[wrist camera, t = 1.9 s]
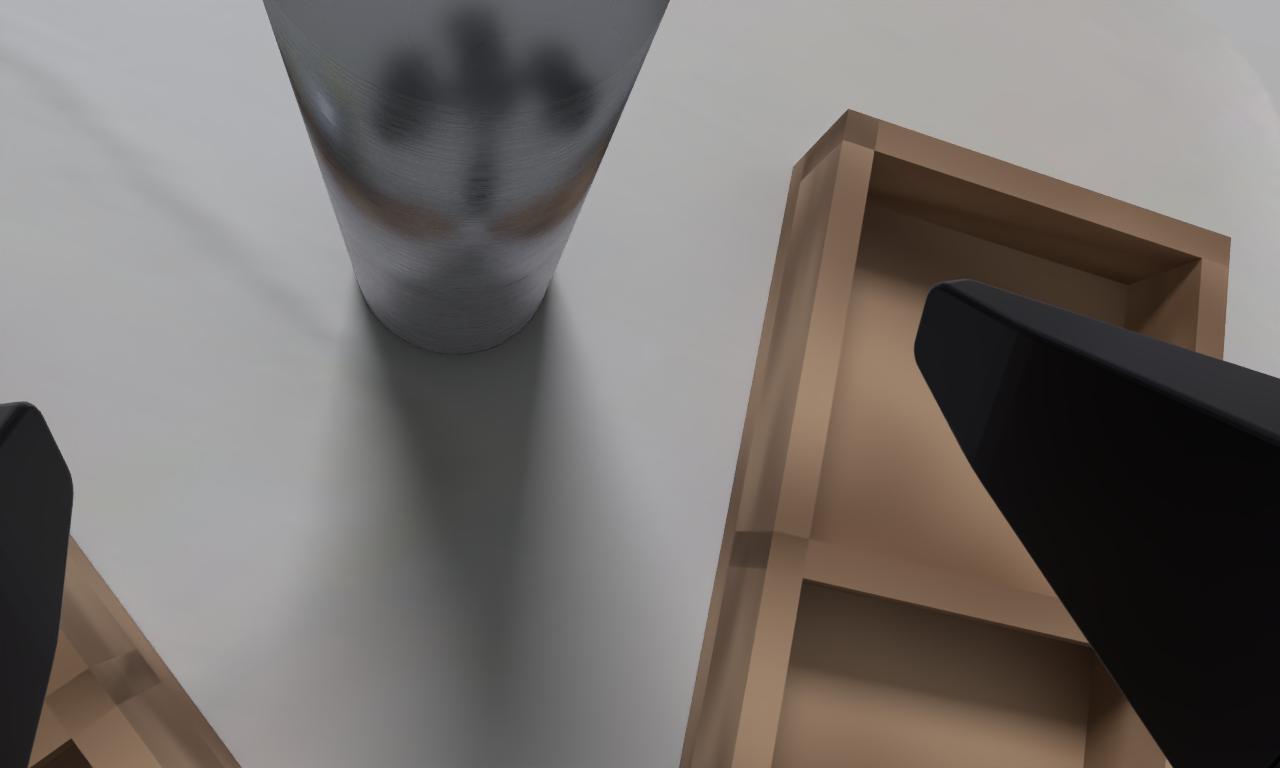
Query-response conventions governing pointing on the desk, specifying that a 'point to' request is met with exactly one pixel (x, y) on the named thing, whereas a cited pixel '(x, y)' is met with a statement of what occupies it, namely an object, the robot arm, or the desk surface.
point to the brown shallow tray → (115, 691)
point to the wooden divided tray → (916, 474)
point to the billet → (460, 144)
